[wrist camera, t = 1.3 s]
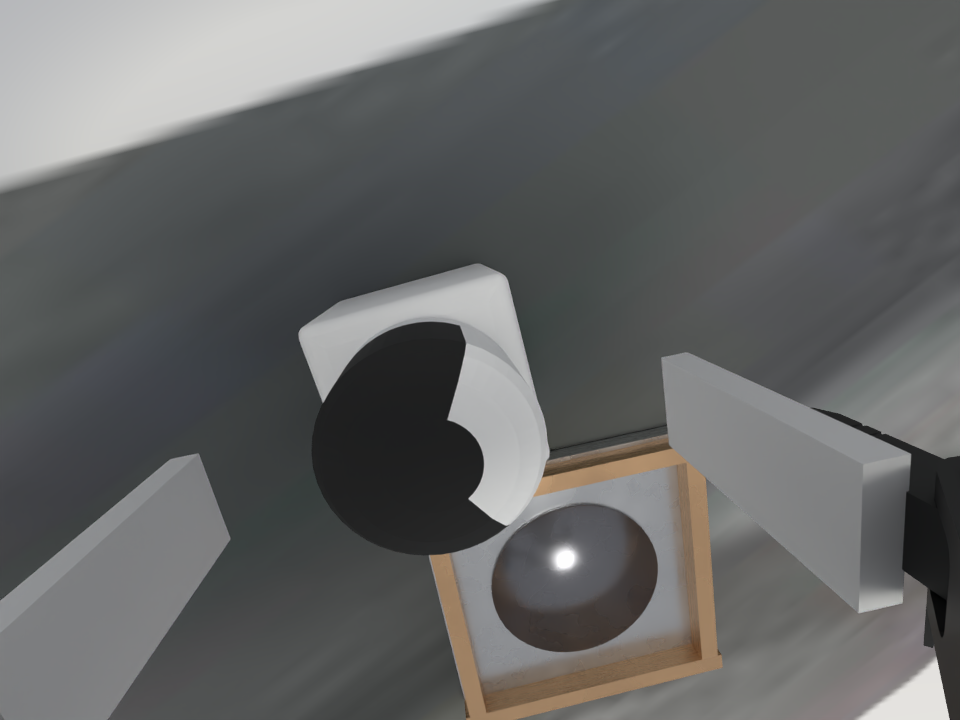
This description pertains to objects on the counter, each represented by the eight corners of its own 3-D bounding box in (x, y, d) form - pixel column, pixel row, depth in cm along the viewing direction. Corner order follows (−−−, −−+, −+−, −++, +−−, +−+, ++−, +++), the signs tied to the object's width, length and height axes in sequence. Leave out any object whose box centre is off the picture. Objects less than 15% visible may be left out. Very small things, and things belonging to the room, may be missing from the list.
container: (381, 439, 26) (338, 625, 13) (334, 302, 24) (230, 370, 11) (518, 399, 26) (601, 546, 14) (482, 260, 24) (541, 283, 12)
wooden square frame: (467, 700, 31) (470, 734, 29) (412, 481, 27) (411, 502, 25) (702, 641, 32) (722, 670, 30) (685, 421, 28) (707, 436, 25)
